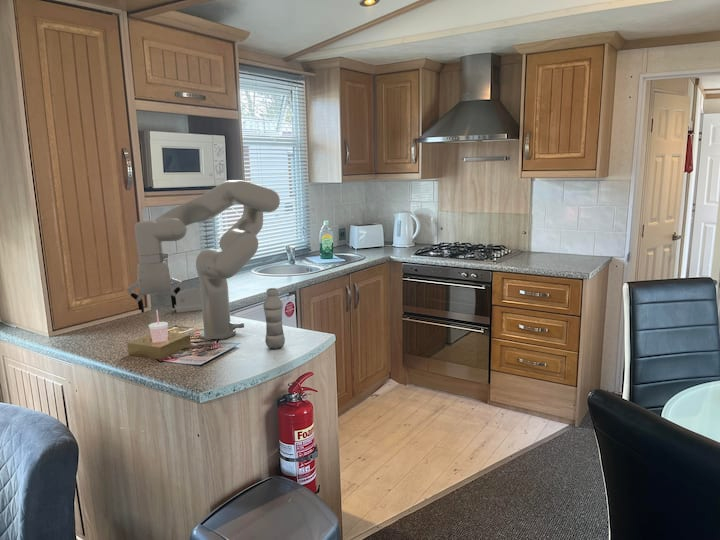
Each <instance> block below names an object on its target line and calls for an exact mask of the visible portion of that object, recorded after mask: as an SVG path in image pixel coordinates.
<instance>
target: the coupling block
mask: <svg viewBox="0 0 720 540" xmlns="http://www.w3.org/2000/svg"><path fill="white" fill-rule="evenodd" d="M191 342H192V341H191V334H189V333H180V332H174V331H173V332H171V331H168V340H166V341H163V342H155V343H153V342H152V337H151V333H149V334H146V335H145V336H142V337H139V338H137V339H134V340H132V341H131V340H130V341H128V342H127V343H126V345H127V346H126V347H127V353H128V355H130V356H135V357H136V356H137V357H144V358H149V359H157V360H163V359H165V358H167V357H169V356H171V355H174V354H175V353H178V352H180V350H181V351H182V349H183V350H185V349H187V348H189V347H191V346H192V343H191ZM190 345H191V346H190ZM188 346H189V347H188ZM186 347H187V348H186ZM184 348H185V349H184Z"/></svg>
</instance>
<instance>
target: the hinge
mask: <svg viewBox="0 0 720 540" xmlns="http://www.w3.org/2000/svg"><path fill="white" fill-rule="evenodd" d="M175 297H176V304H177V305H175V308H174V309H175V311H176V313H177V314H179V313H185V312H186V313H187V312H193V311H194V312H195V311H202V301H201V289H200V288H199V287H198V288H196V287H195V288H188V289H184V290H182V291H181V290H180V291H179V292H178V293H177V294H176V296H175Z"/></svg>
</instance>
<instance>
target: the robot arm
mask: <svg viewBox="0 0 720 540" xmlns="http://www.w3.org/2000/svg"><path fill="white" fill-rule="evenodd" d="M280 204H281V200H280V196H279V194H278V192H276V190H274V189H272V188H268V187H266V186H263V185H260V184H256V183H253V182H250V181H248V180H242V179H235V180H234V179H232V180H231V179H229V180H226V181H224V182H222V183H220V184H218V185H217V186H215V187H212V188H211V189H210V190H208V191H207V192H205V193H203V194H201V195H200V196H198V197H196V198H193V199H191V200H189V201H186V202H185V203H183V204H179V205H177V206H176V207H173V208H171V209H170V210H168V211H166V212H165V213H163V214H161V215H160V216H158V217H156V219H155V220H145V221H142V220H141V221H138V222H136V223H135V224H134V235H135V241H136V249H137V255H138V261H139V263H138V264H137V265H136V275H137V281H136V282H134V283H133V284H131V285H130V286H129V287H127V288H126V291H127V293H128V294H129V295H130V297H131V298H133V299H134V300H136V301H137V305H138V306H137V307H138V310H139V311H141V313H142V314H143V313H145V309H144V302H143V297H144V296H145V295H153V294H154V295H155V294H161V293H167V292H168V293H169V294H170V299H171V307H172V309H176V305H177V304H176V294H177V293H179V292H181V288H182V287H183V281H181V280H179V279H176V278H173V277H171V275H170V274H171V272H170V269H169V266H168V262H167V260H165V259H167V258H169V255H168V253H165V252H164V251H163V242H178V241H180V240H182V239H183V238H185V236H186V234H187V226H190V225H193V224H197V223H201V222H205V221H206V222H207V221H208V220H212V219H213V218H215V217H217V216H218V215H220V214H221V213H223V212H224V211H226V210H228V209H229V208H231V207H232V206H234V205H242V206H243V212H242V215H241V217H240V218H239V219H238V220H237V221H236V222H235V223H234V224H233V225H232V226H231V227H230V228H229V229H228V230H227V231H225V232H224V234H222V236H221V237H220V239H219V243H218V245H219V248H220V249H215V248H206V249H204V250H202V251H201V252H199V254H198V255H197V256H196V259H195V268H196V272H197V276H198V281H199V287H200V289H201V301H202V310H201V311H202V323H203V330H202V331H200V333H199V337H200V338H201V337H202V338H205V339H220V340H225V339H229V338H232V337H233V336H235V335H236V333H237V332H236V331H237V330H236V329H242V328H245V324H244V322H239V321H236V322H233V321H232V319H231V311H230V310H231V309H230V300H229V286H228V284H229V283H228V281H227V279H231V278H232V277H234V276H235V275H236V274H237V273H238V272H239V271H241V270H242V268H243V267H244V266H246V264H247V263H248V262H250V260H252V258H254V256H255V255H256V253H257V251H258V248H259V240H258V237H257V236H258V234H259V233H260V232H261V230H262V228H263V225H264V213H273V212H275V211H276V210H278V209H279V207H280ZM172 283H173V284H175V285H177V286H176V287H175V289H173V288H172ZM137 288H138V292H139V293H138V294H137V293H135V292H134V290H135V289H137ZM202 338H201V339H202ZM205 339H204V340H205Z"/></svg>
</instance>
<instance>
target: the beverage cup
mask: <svg viewBox="0 0 720 540" xmlns="http://www.w3.org/2000/svg"><path fill="white" fill-rule="evenodd" d="M155 311H156V322H151V323H149V324H148V329H149V330H150V334H151V337H152V342H153V343H155V342H163V341H166V340H168V332H169V331H168V327H169V323H168V322H167V321H160V320H159V319H160V318H159V311H158V309H155Z"/></svg>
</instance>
